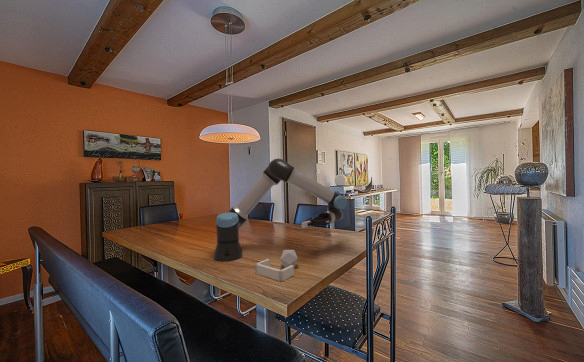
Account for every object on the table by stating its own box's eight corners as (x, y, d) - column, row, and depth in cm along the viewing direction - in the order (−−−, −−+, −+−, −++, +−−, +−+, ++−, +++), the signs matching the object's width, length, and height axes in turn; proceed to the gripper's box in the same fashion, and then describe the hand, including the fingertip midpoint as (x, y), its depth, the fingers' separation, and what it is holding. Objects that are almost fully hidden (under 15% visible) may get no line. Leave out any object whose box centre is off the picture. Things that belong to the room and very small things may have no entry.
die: (291, 272, 112) (302, 253, 115) (275, 262, 113) (286, 244, 116) (291, 272, 119) (301, 254, 122) (276, 263, 121) (286, 245, 124)
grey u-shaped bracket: (254, 272, 111) (254, 264, 111) (267, 267, 118) (267, 258, 118) (281, 281, 101) (281, 272, 101) (294, 274, 108) (293, 265, 108)
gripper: (336, 225, 140) (313, 234, 122) (317, 223, 149) (293, 231, 130) (335, 212, 140) (313, 219, 122) (316, 211, 148) (292, 217, 130)
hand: (302, 225), depth 126 cm, fingers closed
